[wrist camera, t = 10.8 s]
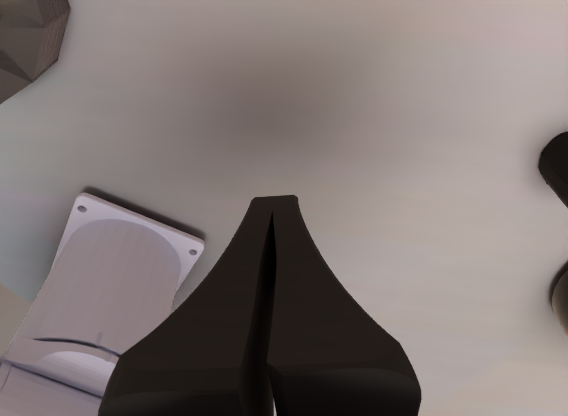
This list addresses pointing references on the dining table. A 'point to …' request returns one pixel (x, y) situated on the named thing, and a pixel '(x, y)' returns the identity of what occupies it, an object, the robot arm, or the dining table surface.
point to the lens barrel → (29, 41)
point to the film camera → (556, 166)
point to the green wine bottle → (561, 301)
